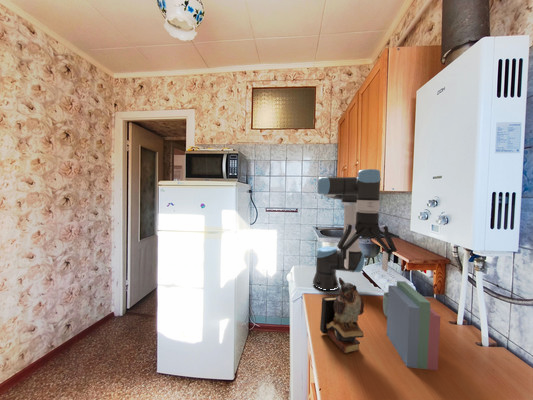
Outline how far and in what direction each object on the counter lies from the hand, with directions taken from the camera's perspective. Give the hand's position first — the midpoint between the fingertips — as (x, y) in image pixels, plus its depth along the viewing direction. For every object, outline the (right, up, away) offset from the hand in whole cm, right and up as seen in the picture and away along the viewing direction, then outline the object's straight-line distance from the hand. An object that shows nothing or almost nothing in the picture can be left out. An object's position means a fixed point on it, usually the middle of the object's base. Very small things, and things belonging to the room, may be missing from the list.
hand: (365, 268), depth 78 cm
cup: (+21, -28, +17) cm, 39 cm away
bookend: (-8, -28, +1) cm, 29 cm away
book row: (+14, -29, -3) cm, 32 cm away
